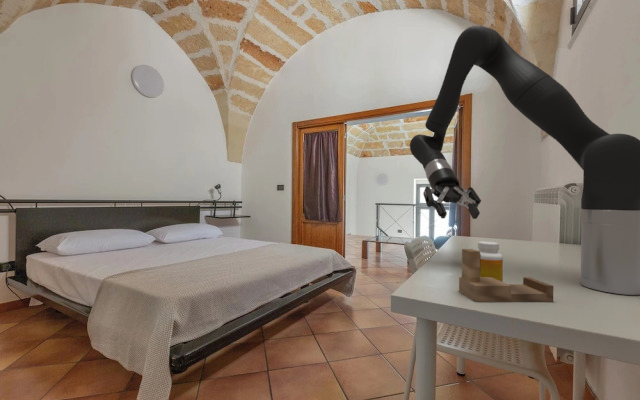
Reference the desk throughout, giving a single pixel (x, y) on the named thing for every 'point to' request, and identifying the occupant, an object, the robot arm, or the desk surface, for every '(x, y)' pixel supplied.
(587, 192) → the robot arm
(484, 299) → the wooden stand
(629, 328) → the desk surface
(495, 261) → the supplement bottle
